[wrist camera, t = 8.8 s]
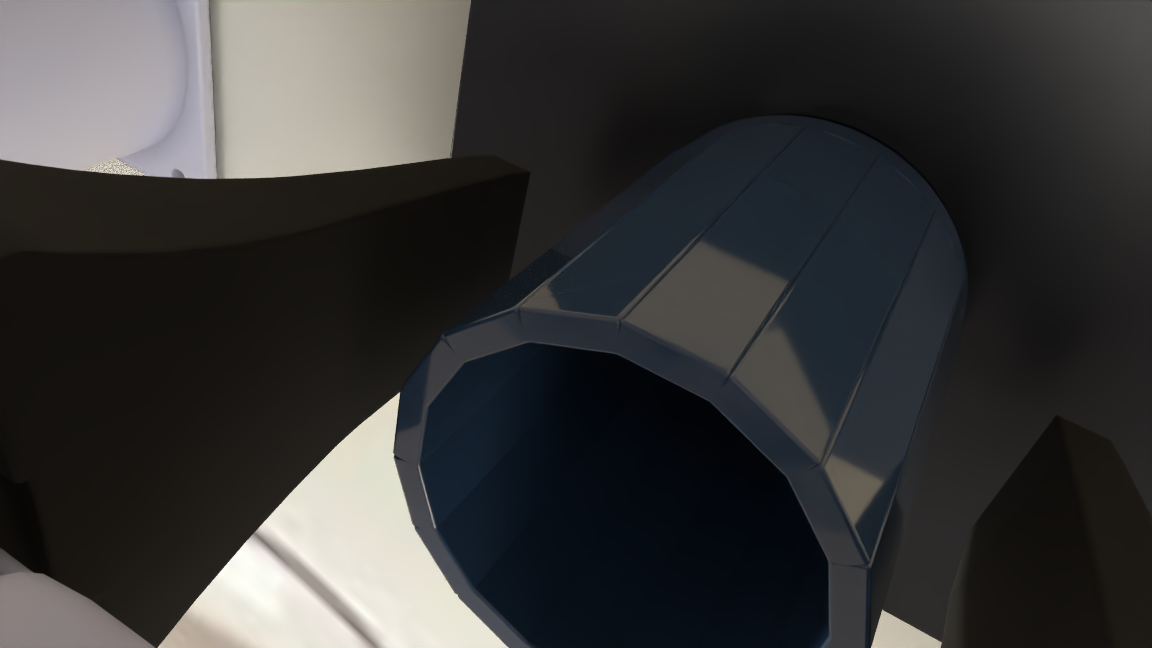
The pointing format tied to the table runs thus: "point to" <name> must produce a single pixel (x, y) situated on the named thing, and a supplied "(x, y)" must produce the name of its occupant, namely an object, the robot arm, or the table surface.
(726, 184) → the cup
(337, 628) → the table surface
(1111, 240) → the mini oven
